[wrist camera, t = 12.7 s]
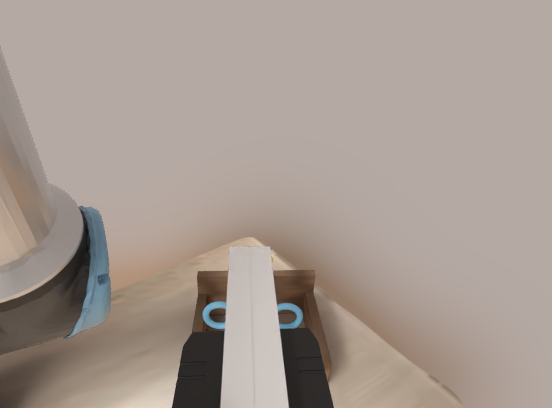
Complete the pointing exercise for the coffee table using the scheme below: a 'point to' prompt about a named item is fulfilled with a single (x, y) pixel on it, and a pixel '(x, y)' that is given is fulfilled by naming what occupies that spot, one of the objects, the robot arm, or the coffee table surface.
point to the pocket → (287, 289)
